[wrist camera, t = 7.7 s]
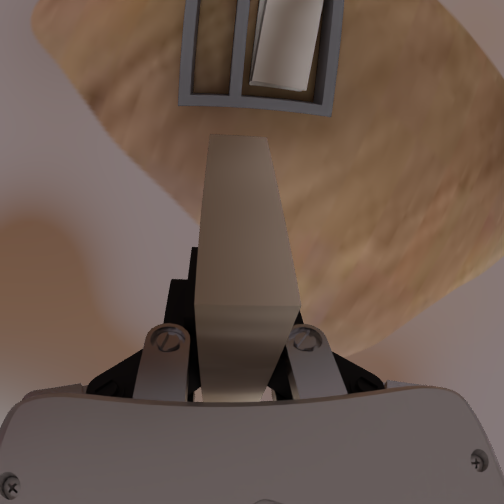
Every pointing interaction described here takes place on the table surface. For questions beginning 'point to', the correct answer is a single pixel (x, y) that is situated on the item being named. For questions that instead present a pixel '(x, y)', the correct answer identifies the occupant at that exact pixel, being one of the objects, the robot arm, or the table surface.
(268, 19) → the offcut upper
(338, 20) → the rack
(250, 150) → the birch sheet
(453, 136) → the table surface
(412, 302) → the table surface
